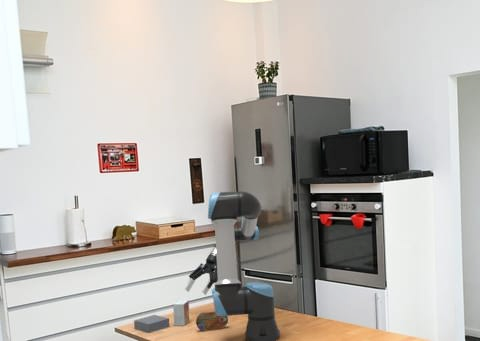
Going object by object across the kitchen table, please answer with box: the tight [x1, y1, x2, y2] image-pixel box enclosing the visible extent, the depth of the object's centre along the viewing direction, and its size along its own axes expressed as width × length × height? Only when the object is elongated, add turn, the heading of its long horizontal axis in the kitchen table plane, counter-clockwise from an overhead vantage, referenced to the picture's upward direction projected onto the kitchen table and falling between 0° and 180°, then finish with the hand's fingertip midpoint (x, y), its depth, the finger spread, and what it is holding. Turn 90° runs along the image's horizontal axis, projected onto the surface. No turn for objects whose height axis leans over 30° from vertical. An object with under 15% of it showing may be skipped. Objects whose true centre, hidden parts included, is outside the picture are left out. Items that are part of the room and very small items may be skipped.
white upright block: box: [172, 300, 190, 327], centre depth 238 cm, size 8×6×10 cm
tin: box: [195, 310, 229, 332], centre depth 225 cm, size 15×3×8 cm, turn 105°
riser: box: [133, 314, 170, 334], centre depth 233 cm, size 12×12×4 cm
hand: (195, 291), depth 245 cm, fingers open, 13 cm apart
